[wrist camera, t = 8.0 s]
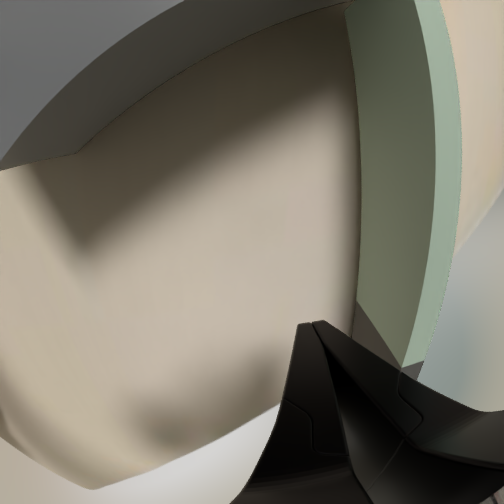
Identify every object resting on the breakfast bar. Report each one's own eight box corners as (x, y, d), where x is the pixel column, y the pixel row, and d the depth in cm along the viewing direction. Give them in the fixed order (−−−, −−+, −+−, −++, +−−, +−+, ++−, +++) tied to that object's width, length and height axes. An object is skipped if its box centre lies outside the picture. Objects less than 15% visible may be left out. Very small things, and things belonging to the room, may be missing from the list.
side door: (364, 359, 17) (396, 423, 12) (347, 363, 17) (377, 430, 12) (366, 14, 9) (429, -28, 4) (343, 11, 9) (400, -39, 4)
